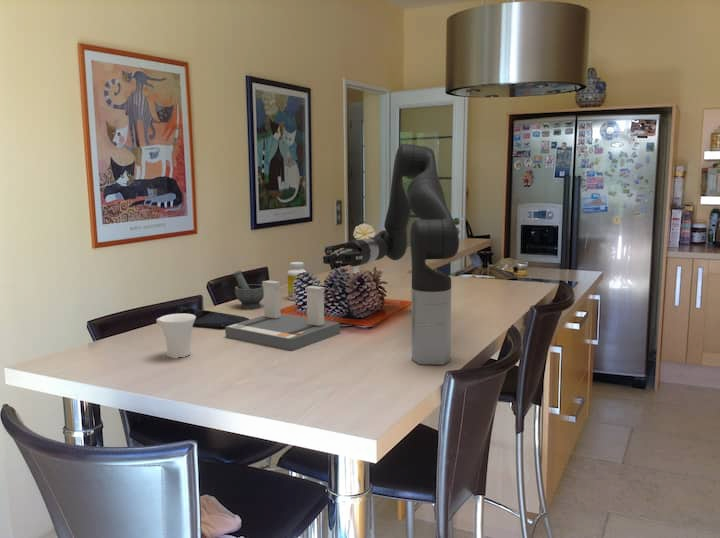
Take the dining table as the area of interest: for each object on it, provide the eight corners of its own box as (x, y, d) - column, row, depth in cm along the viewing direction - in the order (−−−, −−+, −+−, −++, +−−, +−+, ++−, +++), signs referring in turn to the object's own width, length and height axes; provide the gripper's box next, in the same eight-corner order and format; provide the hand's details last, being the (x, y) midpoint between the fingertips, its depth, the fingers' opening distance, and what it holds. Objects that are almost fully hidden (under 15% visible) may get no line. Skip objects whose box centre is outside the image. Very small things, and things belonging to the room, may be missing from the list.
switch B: (269, 314, 183) (268, 280, 181) (281, 316, 180) (280, 281, 178) (263, 316, 180) (262, 281, 179) (275, 318, 178) (274, 283, 176)
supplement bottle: (304, 301, 216) (303, 264, 214) (285, 300, 218) (284, 264, 215) (309, 297, 223) (308, 261, 221) (291, 296, 224) (290, 261, 222)
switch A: (312, 321, 173) (311, 285, 172) (325, 324, 171) (324, 287, 169) (306, 323, 171) (305, 287, 170) (319, 326, 169) (318, 288, 167)
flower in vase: (338, 292, 231) (336, 224, 227) (346, 286, 242) (344, 221, 238) (372, 293, 228) (371, 224, 224) (379, 287, 239) (378, 222, 235)
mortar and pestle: (271, 305, 210) (270, 270, 208) (253, 311, 202) (251, 274, 200) (245, 302, 215) (243, 268, 213) (226, 308, 207) (225, 272, 205)
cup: (157, 353, 157) (155, 314, 156) (195, 348, 161) (193, 310, 159) (159, 363, 149) (157, 322, 148) (199, 358, 152) (197, 318, 151)
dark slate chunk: (219, 333, 177) (218, 317, 176) (164, 324, 188) (163, 309, 187) (255, 322, 190) (254, 306, 189) (201, 314, 201) (201, 299, 200)
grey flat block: (275, 322, 187) (275, 311, 187) (339, 333, 174) (339, 321, 173) (225, 337, 171) (225, 325, 171) (292, 350, 158) (291, 338, 157)
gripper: (342, 238, 189) (306, 245, 175) (379, 240, 182) (344, 248, 168) (343, 262, 191) (307, 271, 177) (379, 266, 183) (345, 275, 169)
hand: (325, 260), depth 172 cm, fingers closed
